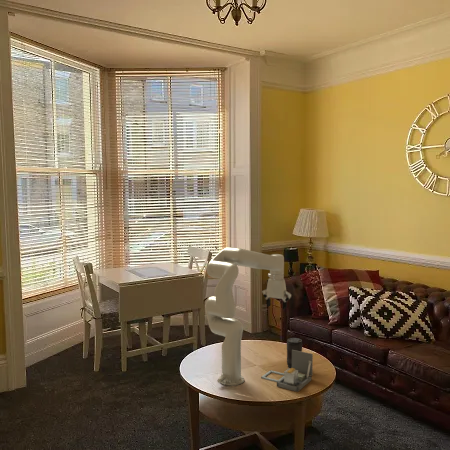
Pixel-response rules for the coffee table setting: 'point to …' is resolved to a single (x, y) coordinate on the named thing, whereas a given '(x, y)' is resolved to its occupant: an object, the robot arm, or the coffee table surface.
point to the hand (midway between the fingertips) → (276, 307)
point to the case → (300, 370)
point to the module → (291, 377)
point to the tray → (270, 378)
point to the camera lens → (293, 345)
